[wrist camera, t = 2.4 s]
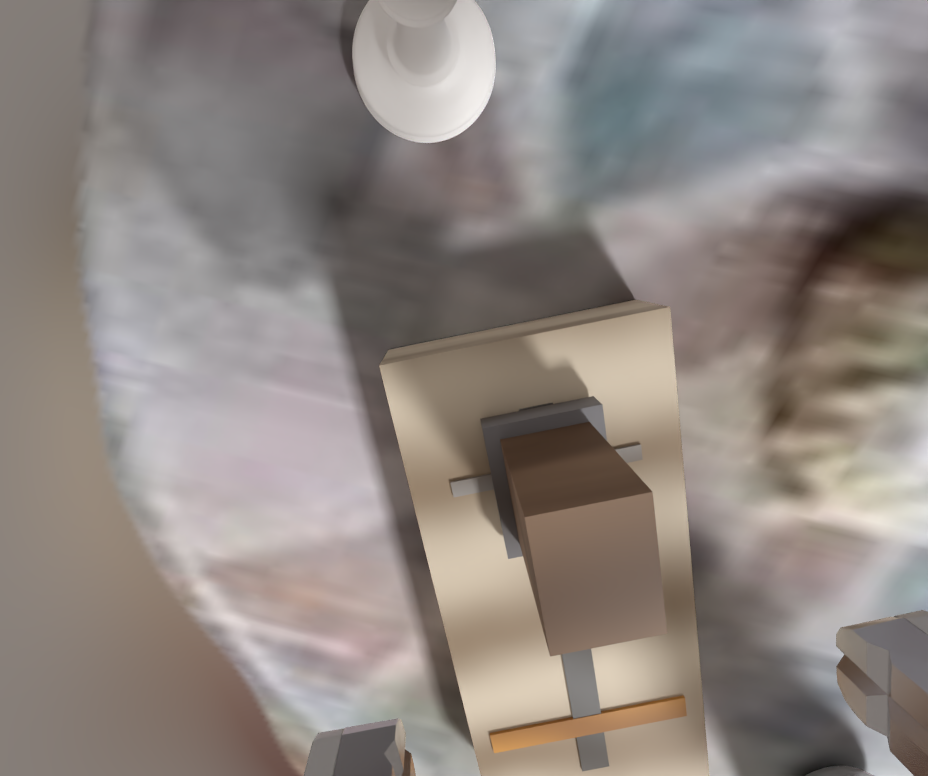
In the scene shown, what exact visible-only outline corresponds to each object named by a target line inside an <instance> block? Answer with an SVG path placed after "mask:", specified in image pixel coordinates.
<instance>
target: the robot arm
mask: <svg viewBox="0 0 928 776" xmlns="http://www.w3.org/2000/svg"><path fill="white" fill-rule="evenodd" d="M836 646H837V647H838V648H839V649H840V650H841V651H842V652H843V653H844V656H843V657H842V659H841V660H840V662H839V663H838V665H837V666H836V668H837V682H838V685H839V687H840V689H841V692H842V694H843V697H844V699H845V701H846V702H847V703H848V705H849V706H850V708H851V709H852V711H853V712H854V713H855V714H856V715H857V717H858V718H859V719H860V720H861V721H862V722H863V723H864V724H865V725H866V726H867V727H869V728H871V729H873V730H875V731H877V732H879V733H881V734H883V735H885V736H887V739H888V744H889V748H890V751H891V752H892V753H893V754H894V755H895V757H896V758H897V759H898V760H899V761H900V762H901V763H902V764H903V765H904V766H905V767H906V768H907V769H908V770H909V771H910V772H911V773H912V774H913V775H914V776H928V612H927V611H924V610H921V611H916V612H911V613H907V614H902V615H897V616H894V617H887V618H883V619H878V620H874V621H869V622H864V623H860V624H855V625H851V626H846V627H841V628H840V629H839V631H838V632H837V634H836ZM405 738H406V733H405V730H404V727H403V723H402V720H401V719H392V720H387V721H381V722H375V723H369V724H364V725H358V726H352V727H347V728H344V729H338V730H333V731H327V732H321V733H318V734H317V736H316V738H315V739H314V741H313V743H312V746H311V750H310V754H309V757H308V761H307V765H306V769H305V772H304V776H416V775H415V769H414V763H413V759H412V756H411V753H409V752H408V751H407V750H405Z"/></svg>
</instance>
